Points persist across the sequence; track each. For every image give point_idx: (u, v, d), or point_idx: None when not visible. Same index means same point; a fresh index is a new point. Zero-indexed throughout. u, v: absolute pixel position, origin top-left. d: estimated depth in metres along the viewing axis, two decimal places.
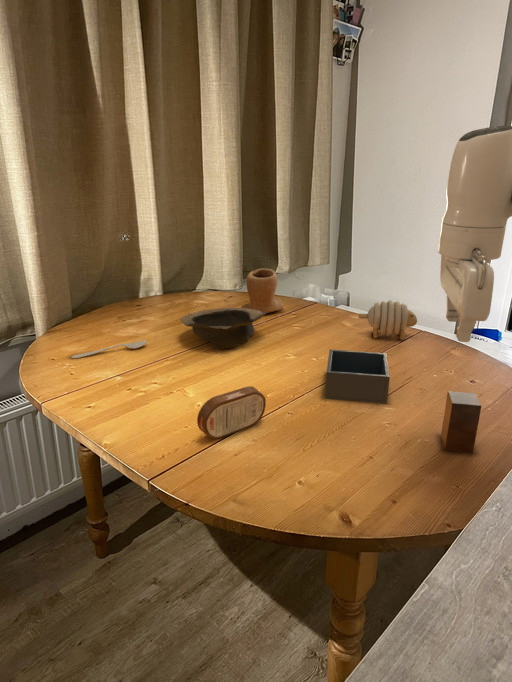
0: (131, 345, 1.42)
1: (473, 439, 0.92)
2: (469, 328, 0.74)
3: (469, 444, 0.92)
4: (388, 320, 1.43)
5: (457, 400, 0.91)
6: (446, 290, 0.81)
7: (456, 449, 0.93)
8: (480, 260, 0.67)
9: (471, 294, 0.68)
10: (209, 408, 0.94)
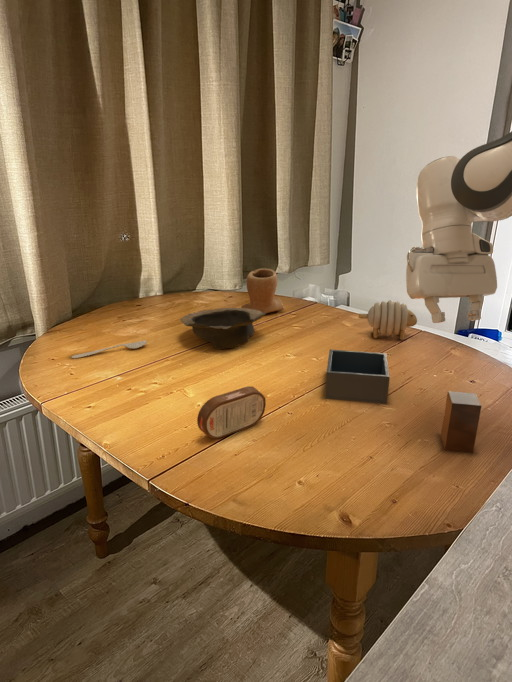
0: (131, 345, 1.42)
1: (473, 439, 0.92)
2: (434, 309, 0.89)
3: (469, 444, 0.92)
4: (388, 320, 1.43)
5: (457, 400, 0.91)
6: None
7: (456, 449, 0.93)
8: None
9: (408, 277, 0.89)
10: (209, 408, 0.94)
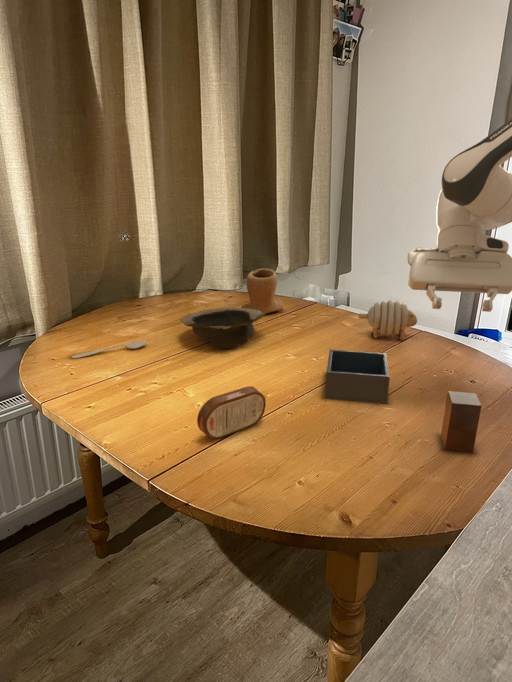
0: (131, 345, 1.42)
1: (473, 439, 0.92)
2: (431, 296, 1.00)
3: (469, 444, 0.92)
4: (388, 320, 1.43)
5: (457, 400, 0.91)
6: None
7: (456, 449, 0.93)
8: None
9: None
10: (209, 408, 0.94)
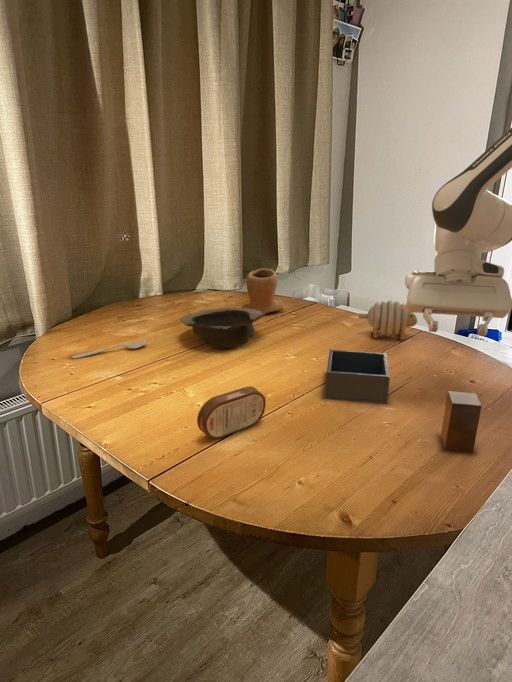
0: (131, 345, 1.42)
1: (473, 439, 0.92)
2: (427, 319, 1.02)
3: (469, 444, 0.92)
4: (388, 320, 1.43)
5: (457, 400, 0.91)
6: None
7: (456, 449, 0.93)
8: None
9: (407, 294, 1.06)
10: (209, 408, 0.94)
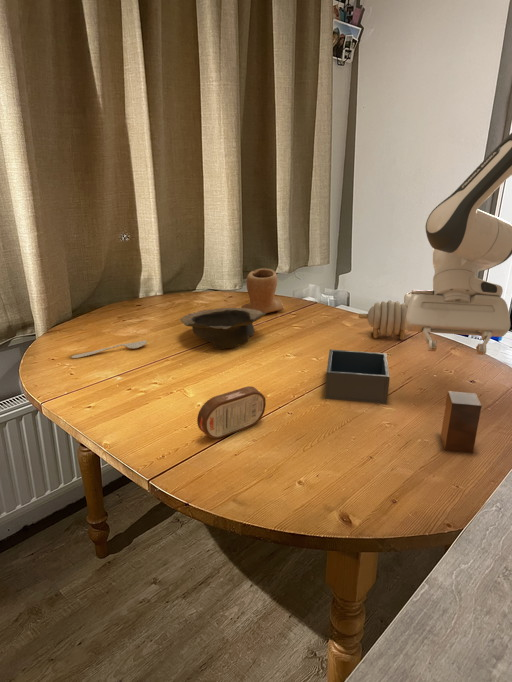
0: (131, 345, 1.42)
1: (473, 439, 0.92)
2: (426, 338, 1.02)
3: (469, 444, 0.92)
4: (388, 320, 1.43)
5: (457, 400, 0.91)
6: None
7: (456, 449, 0.93)
8: (411, 293, 1.08)
9: (406, 313, 1.07)
10: (209, 408, 0.94)
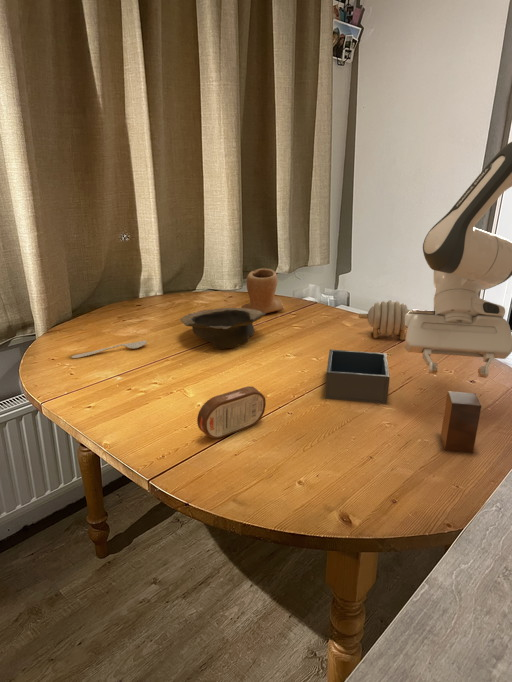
0: (131, 345, 1.42)
1: (473, 439, 0.92)
2: (427, 360, 0.99)
3: (469, 444, 0.92)
4: (388, 320, 1.43)
5: (457, 400, 0.91)
6: None
7: (456, 449, 0.93)
8: None
9: (406, 333, 1.04)
10: (209, 408, 0.94)
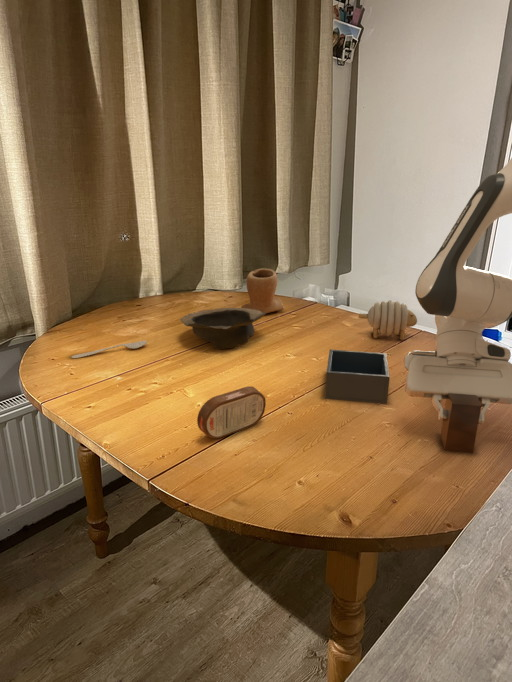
0: (131, 345, 1.42)
1: (473, 439, 0.92)
2: (437, 406, 0.94)
3: (469, 444, 0.92)
4: (388, 320, 1.43)
5: (457, 400, 0.91)
6: None
7: (456, 449, 0.93)
8: (412, 354, 1.00)
9: (406, 376, 0.99)
10: (209, 408, 0.94)
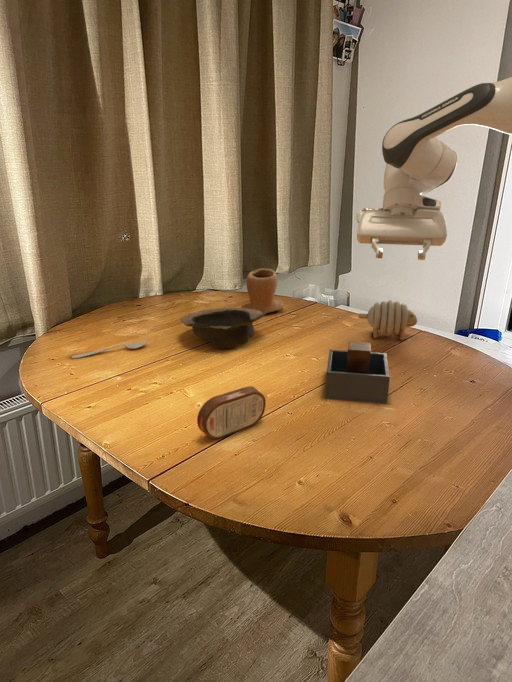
0: (131, 345, 1.42)
1: None
2: (374, 247, 1.16)
3: None
4: (388, 320, 1.43)
5: (353, 347, 1.13)
6: None
7: None
8: (363, 211, 1.22)
9: None
10: (209, 408, 0.94)
